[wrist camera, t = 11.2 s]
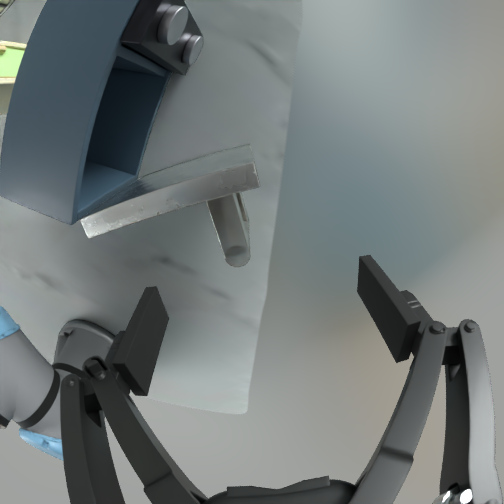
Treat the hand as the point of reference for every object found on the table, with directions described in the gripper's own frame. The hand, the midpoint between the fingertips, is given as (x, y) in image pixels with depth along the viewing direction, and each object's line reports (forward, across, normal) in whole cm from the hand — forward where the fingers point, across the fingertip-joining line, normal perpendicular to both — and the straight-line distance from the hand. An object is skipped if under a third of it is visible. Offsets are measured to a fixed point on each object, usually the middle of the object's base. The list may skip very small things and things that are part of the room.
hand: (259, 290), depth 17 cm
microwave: (+16, -11, +16) cm, 25 cm away
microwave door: (+16, -5, +3) cm, 17 cm away
